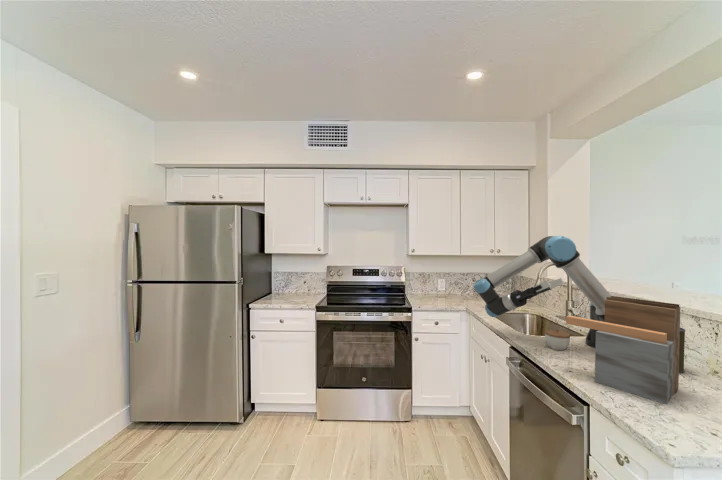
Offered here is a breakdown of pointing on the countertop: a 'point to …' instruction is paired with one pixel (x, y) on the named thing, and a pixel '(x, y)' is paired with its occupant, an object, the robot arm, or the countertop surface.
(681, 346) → the canister
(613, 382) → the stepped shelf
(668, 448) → the countertop surface
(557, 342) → the lidded jar
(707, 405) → the countertop surface
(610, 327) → the terracotta bar
